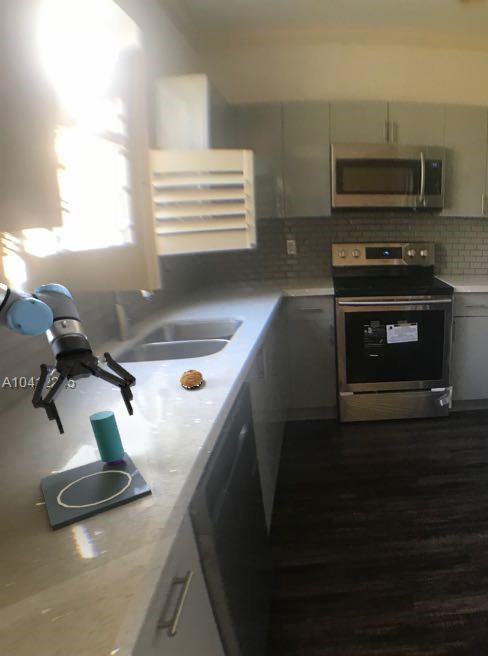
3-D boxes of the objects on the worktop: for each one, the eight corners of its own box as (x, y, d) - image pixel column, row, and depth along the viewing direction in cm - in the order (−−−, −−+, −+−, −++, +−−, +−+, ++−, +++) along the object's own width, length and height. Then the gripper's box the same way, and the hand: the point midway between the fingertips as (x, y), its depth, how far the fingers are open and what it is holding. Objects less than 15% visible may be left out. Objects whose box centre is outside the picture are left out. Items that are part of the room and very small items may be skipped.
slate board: (41, 482, 93) (39, 478, 93) (127, 455, 103) (125, 451, 102) (53, 530, 79) (51, 525, 78) (151, 493, 88) (150, 489, 88)
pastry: (205, 387, 141) (203, 376, 140) (181, 391, 139) (179, 380, 137) (202, 378, 149) (200, 367, 148) (180, 382, 147) (177, 371, 145)
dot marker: (100, 461, 99) (87, 415, 95) (123, 454, 101) (111, 408, 97) (105, 469, 96) (91, 421, 92) (128, 461, 98) (116, 415, 94)
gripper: (-1, 345, 97) (26, 432, 91) (128, 325, 112) (158, 398, 106) (6, 363, 103) (32, 446, 97) (128, 341, 117) (156, 412, 112)
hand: (97, 421), depth 102 cm, fingers open, 13 cm apart
